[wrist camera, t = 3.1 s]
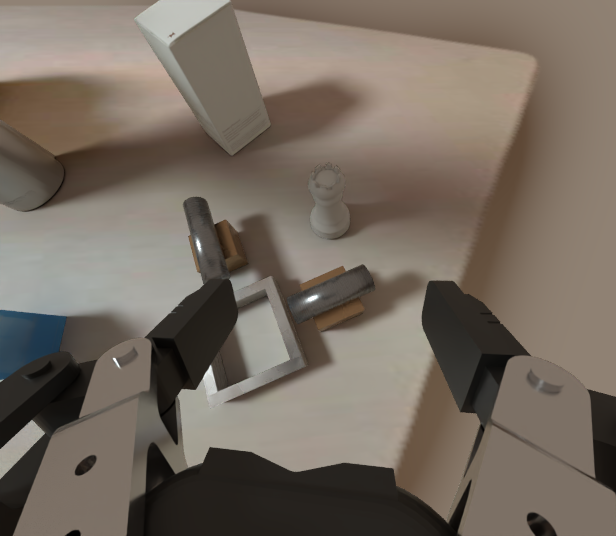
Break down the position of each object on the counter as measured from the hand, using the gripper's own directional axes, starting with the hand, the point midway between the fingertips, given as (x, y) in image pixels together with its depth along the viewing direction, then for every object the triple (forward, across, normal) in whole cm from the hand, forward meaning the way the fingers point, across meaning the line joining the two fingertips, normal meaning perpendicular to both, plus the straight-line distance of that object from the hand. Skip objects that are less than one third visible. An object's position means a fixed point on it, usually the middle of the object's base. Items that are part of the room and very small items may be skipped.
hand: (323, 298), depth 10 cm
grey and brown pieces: (+13, +7, +7) cm, 16 cm away
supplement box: (+29, +14, -9) cm, 33 cm away
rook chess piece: (+18, 0, +2) cm, 18 cm away
